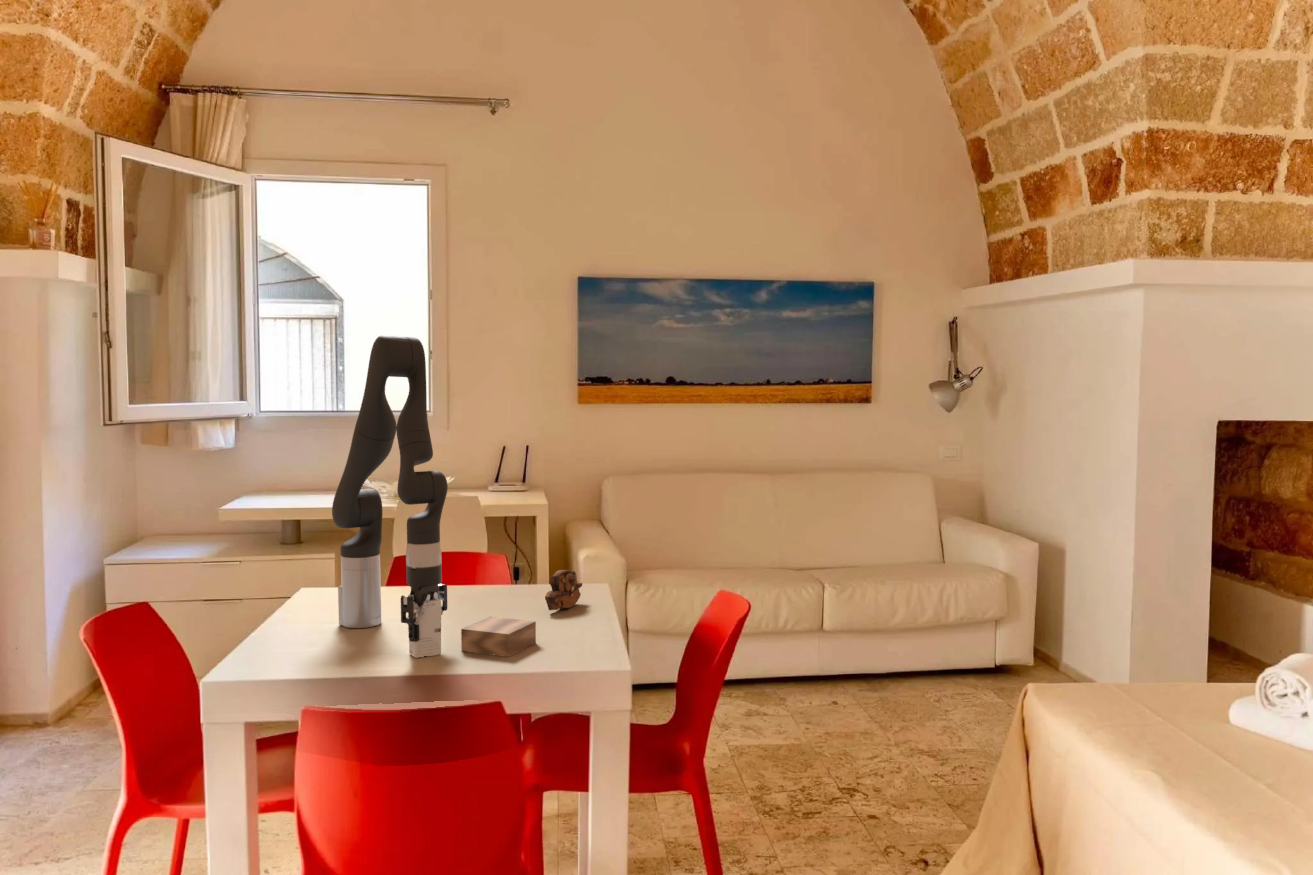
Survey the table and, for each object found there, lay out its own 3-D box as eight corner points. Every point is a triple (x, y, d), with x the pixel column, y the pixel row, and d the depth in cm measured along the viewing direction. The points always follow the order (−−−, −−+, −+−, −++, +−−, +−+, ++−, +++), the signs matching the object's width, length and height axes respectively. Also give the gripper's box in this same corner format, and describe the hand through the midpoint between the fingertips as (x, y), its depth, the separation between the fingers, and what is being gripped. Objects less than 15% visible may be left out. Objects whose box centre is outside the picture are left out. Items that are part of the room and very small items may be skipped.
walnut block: (461, 651, 222) (461, 628, 222) (490, 637, 233) (490, 616, 233) (508, 656, 218) (508, 634, 217) (535, 643, 229) (535, 621, 228)
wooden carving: (560, 616, 254) (560, 577, 253) (543, 615, 255) (543, 576, 254) (585, 602, 269) (585, 565, 269) (569, 601, 271) (569, 564, 270)
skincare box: (415, 659, 216) (414, 603, 215) (408, 654, 220) (407, 599, 219) (442, 654, 220) (441, 599, 219) (435, 649, 223) (434, 596, 222)
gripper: (428, 555, 226) (430, 627, 228) (389, 567, 213) (390, 643, 214) (457, 558, 224) (458, 630, 225) (418, 569, 210) (419, 646, 211)
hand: (425, 636), depth 219 cm, fingers open, 7 cm apart
